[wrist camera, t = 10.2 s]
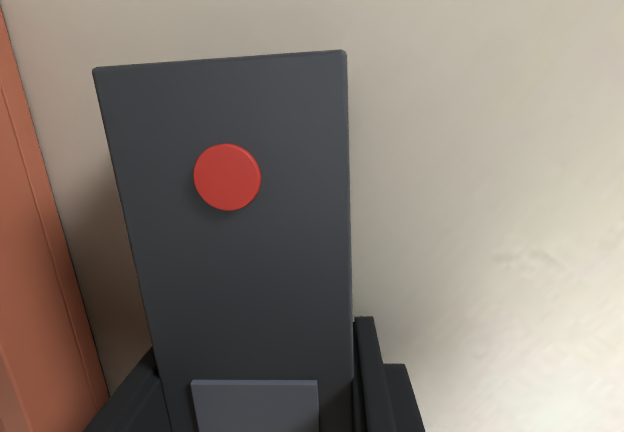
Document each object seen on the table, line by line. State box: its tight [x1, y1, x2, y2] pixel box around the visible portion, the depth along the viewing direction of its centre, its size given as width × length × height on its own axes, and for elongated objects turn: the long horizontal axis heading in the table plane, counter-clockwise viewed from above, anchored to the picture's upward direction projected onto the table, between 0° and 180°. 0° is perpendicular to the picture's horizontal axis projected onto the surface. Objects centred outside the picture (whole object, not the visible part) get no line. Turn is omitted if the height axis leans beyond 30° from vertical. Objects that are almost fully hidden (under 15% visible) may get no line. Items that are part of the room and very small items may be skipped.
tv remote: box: [92, 50, 354, 432], centre depth 9 cm, size 4×16×3 cm, turn 3°
